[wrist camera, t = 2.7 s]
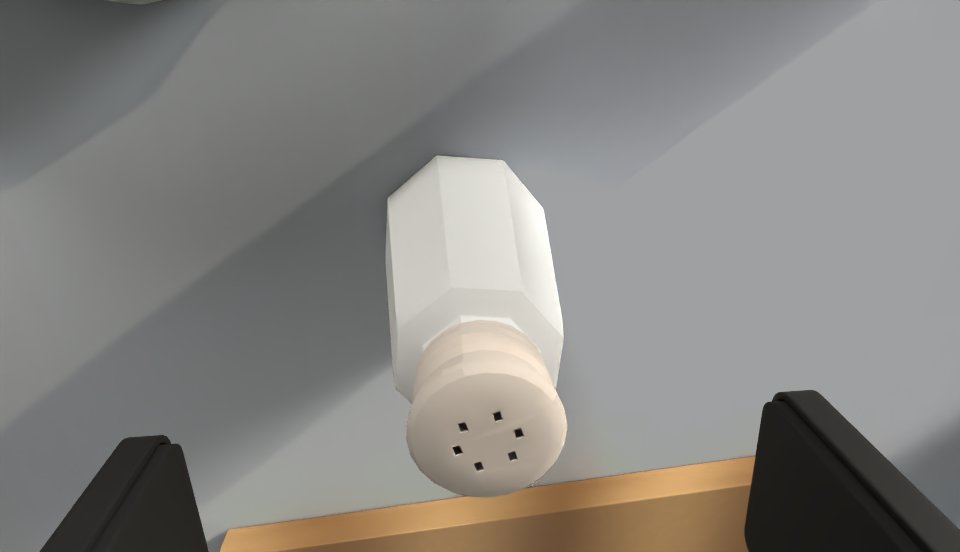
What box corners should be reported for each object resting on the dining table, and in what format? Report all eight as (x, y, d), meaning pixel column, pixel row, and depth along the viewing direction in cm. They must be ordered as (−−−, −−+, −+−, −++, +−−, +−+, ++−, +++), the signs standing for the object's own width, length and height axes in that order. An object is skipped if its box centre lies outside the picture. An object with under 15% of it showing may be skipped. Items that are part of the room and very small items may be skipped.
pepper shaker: (413, 325, 22) (394, 593, 12) (355, 180, 20) (272, 357, 10) (563, 279, 22) (671, 514, 12) (519, 126, 20) (606, 253, 10)
